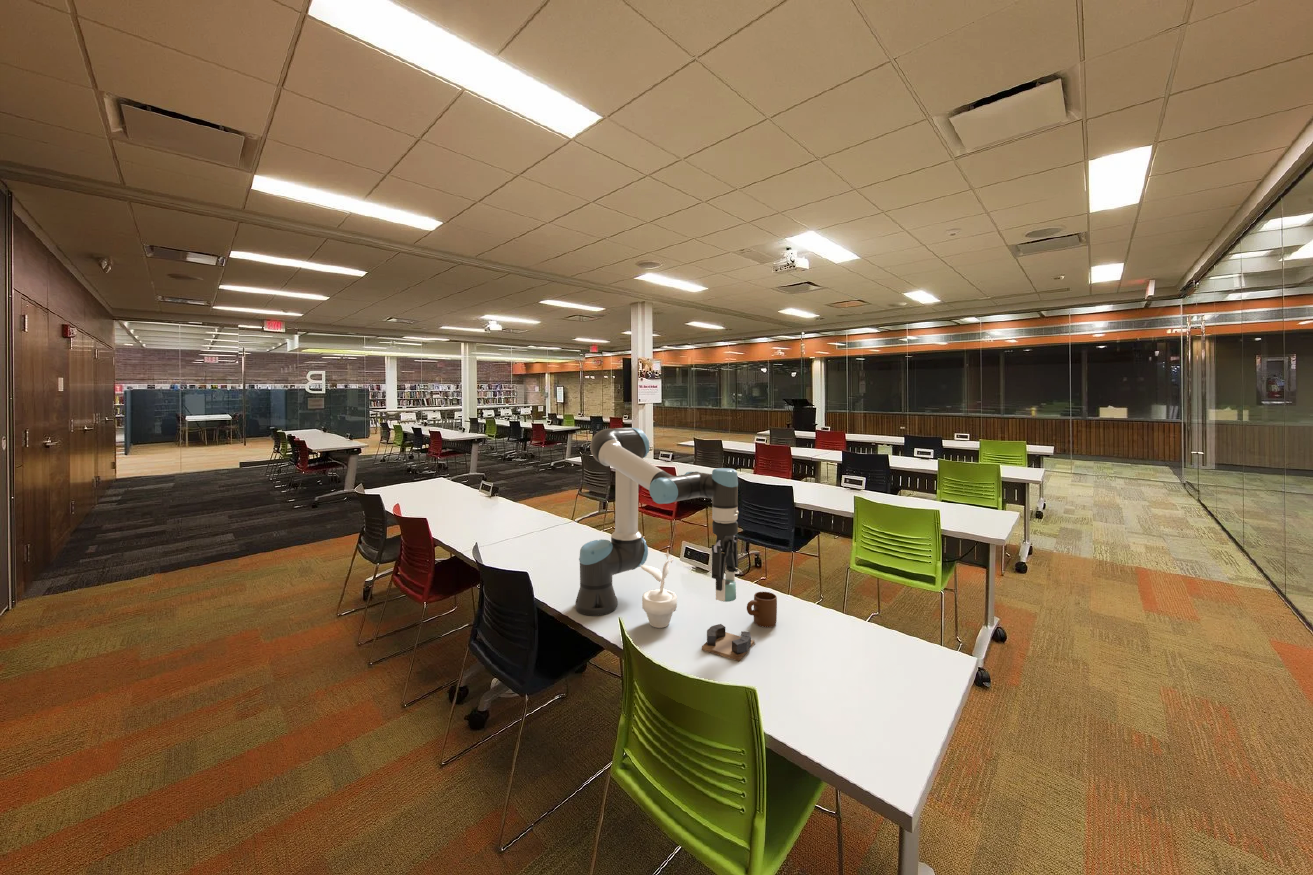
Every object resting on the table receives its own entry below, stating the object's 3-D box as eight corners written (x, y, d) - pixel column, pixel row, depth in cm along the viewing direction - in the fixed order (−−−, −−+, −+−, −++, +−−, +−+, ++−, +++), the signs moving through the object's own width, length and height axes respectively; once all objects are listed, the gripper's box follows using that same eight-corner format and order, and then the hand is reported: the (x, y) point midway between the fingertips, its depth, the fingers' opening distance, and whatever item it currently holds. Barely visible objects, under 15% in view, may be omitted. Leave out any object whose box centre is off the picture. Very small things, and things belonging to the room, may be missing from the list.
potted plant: (682, 620, 161) (682, 548, 159) (668, 635, 150) (668, 558, 149) (648, 613, 166) (648, 543, 164) (633, 627, 156) (633, 553, 154)
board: (701, 649, 142) (701, 646, 142) (718, 633, 152) (718, 630, 152) (739, 661, 135) (739, 657, 135) (754, 643, 145) (754, 640, 145)
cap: (712, 599, 141) (712, 583, 141) (721, 592, 146) (720, 577, 146) (730, 603, 138) (730, 587, 138) (739, 595, 143) (738, 580, 143)
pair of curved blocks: (702, 644, 143) (702, 634, 143) (715, 631, 151) (715, 622, 151) (742, 656, 136) (742, 646, 136) (754, 642, 144) (754, 632, 144)
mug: (755, 633, 151) (755, 605, 151) (739, 624, 158) (739, 597, 157) (781, 624, 158) (781, 596, 157) (764, 615, 164) (765, 589, 164)
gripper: (722, 528, 131) (723, 610, 132) (749, 515, 147) (749, 588, 148) (698, 525, 135) (699, 604, 136) (727, 513, 151) (727, 583, 152)
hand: (725, 596), depth 142 cm, fingers closed on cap, 6 cm apart
